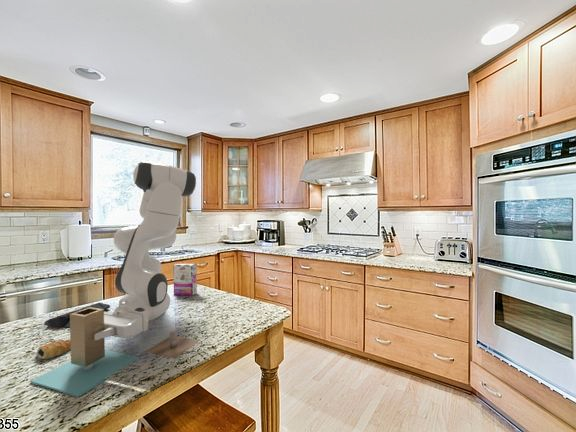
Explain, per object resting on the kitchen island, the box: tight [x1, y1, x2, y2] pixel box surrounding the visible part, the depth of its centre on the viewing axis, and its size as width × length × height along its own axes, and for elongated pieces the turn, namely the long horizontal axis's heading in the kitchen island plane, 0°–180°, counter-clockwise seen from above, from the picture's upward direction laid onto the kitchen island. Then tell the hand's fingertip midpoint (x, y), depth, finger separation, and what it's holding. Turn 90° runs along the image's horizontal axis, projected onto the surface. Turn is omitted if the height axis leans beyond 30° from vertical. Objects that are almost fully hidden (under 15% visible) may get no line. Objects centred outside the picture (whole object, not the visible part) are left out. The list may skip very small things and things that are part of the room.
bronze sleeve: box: [69, 307, 106, 367], centre depth 78 cm, size 6×6×14 cm
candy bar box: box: [172, 263, 198, 297], centre depth 148 cm, size 11×5×16 cm, turn 80°
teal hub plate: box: [29, 349, 140, 398], centre depth 78 cm, size 18×18×5 cm
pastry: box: [36, 339, 71, 360], centre depth 89 cm, size 9×7×4 cm
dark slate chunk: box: [43, 302, 111, 329], centre depth 118 cm, size 15×22×5 cm
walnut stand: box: [144, 330, 200, 359], centre depth 91 cm, size 12×12×6 cm
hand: (84, 335), depth 77 cm, fingers open, 6 cm apart
